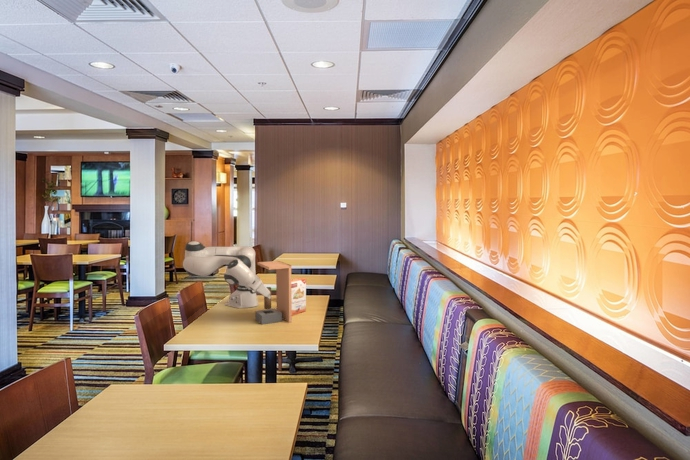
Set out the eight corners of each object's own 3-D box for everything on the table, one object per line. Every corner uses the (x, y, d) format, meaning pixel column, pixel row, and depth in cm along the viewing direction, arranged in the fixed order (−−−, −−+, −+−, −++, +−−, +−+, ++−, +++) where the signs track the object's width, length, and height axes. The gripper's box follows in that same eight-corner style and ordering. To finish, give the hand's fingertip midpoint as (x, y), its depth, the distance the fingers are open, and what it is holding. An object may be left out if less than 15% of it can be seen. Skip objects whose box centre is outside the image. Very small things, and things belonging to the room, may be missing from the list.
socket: (262, 324, 235) (261, 315, 235) (255, 319, 245) (255, 310, 245) (282, 321, 241) (282, 313, 241) (274, 316, 251) (274, 308, 251)
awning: (269, 325, 233) (269, 266, 231) (258, 317, 250) (257, 262, 248) (291, 322, 240) (291, 265, 237) (278, 314, 257) (278, 260, 255)
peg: (262, 308, 241) (262, 288, 241) (267, 307, 245) (267, 286, 244) (268, 309, 239) (268, 288, 239) (272, 308, 243) (272, 287, 242)
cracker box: (290, 316, 252) (290, 282, 251) (283, 314, 256) (283, 280, 254) (306, 311, 263) (306, 278, 262) (299, 309, 267) (299, 277, 265)
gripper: (243, 282, 245) (259, 297, 250) (253, 289, 227) (271, 305, 232) (250, 274, 246) (266, 289, 252) (261, 280, 229) (278, 296, 234)
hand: (268, 297), depth 242 cm, fingers closed on peg, 4 cm apart
